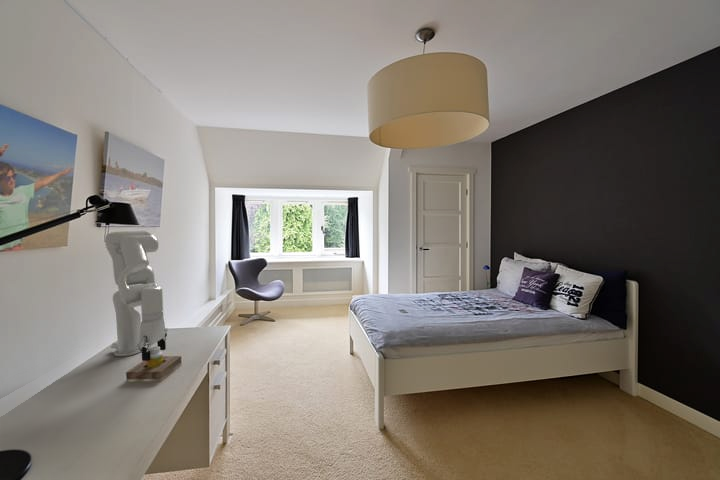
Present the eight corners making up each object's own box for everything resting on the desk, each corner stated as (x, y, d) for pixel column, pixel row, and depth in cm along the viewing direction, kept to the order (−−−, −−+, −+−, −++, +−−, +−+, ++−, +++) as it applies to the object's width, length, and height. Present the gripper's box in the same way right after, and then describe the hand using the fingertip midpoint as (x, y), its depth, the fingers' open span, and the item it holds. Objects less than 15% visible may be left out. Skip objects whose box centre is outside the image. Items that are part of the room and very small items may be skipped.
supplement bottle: (155, 374, 124) (154, 351, 124) (144, 372, 125) (143, 350, 125) (166, 367, 129) (165, 346, 129) (155, 366, 131) (154, 345, 130)
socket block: (126, 381, 120) (126, 372, 120) (150, 365, 134) (149, 356, 134) (161, 381, 120) (161, 371, 120) (181, 364, 134) (181, 356, 134)
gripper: (157, 309, 134) (158, 346, 136) (128, 323, 117) (130, 364, 118) (174, 309, 135) (175, 346, 136) (147, 323, 117) (149, 364, 119)
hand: (154, 354), depth 127 cm, fingers open, 9 cm apart
